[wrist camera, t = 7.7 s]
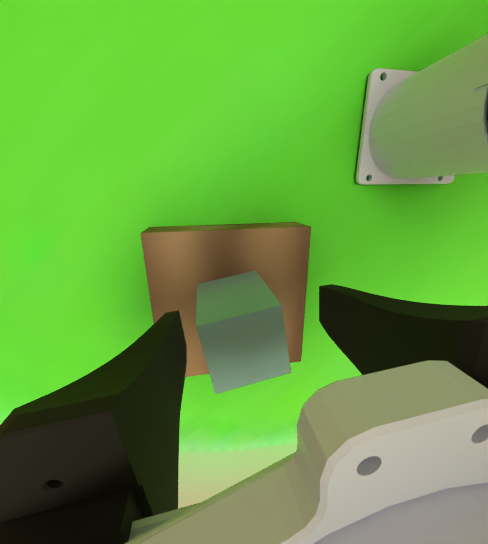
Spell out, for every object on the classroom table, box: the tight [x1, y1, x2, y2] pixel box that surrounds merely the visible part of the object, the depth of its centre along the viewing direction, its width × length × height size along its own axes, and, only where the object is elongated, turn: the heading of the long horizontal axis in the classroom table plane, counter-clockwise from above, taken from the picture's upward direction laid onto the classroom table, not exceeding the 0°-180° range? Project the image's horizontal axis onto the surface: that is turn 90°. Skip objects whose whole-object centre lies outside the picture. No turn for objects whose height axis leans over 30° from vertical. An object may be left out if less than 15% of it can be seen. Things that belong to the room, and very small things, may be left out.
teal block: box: [196, 270, 291, 394], centre depth 16 cm, size 4×4×6 cm
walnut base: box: [141, 222, 311, 377], centre depth 20 cm, size 12×12×3 cm
